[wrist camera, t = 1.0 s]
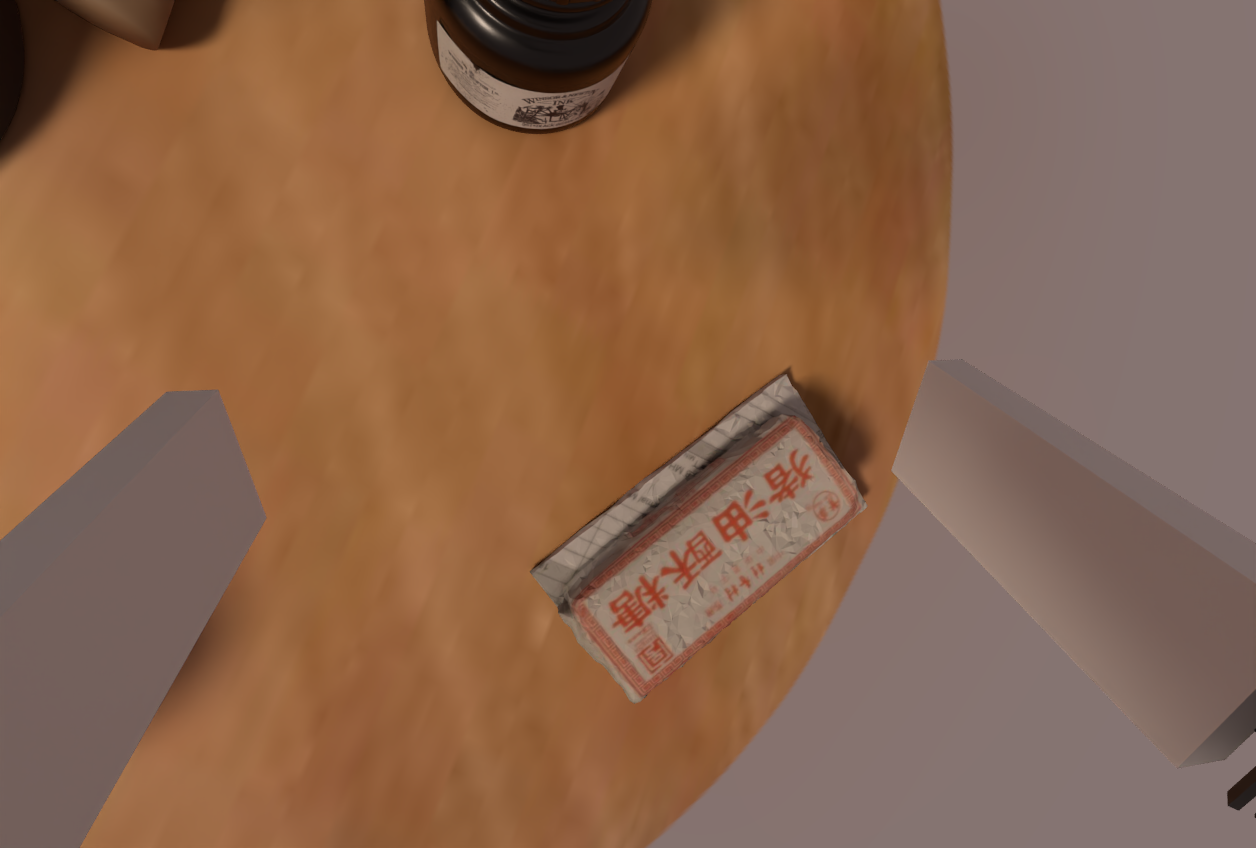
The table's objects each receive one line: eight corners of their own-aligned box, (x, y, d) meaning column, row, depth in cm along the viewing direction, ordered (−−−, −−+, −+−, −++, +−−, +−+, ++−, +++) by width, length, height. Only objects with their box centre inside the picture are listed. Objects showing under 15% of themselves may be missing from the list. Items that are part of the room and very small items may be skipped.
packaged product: (655, 745, 28) (537, 603, 26) (628, 690, 33) (526, 566, 30) (910, 520, 31) (826, 372, 29) (852, 499, 36) (775, 370, 33)
